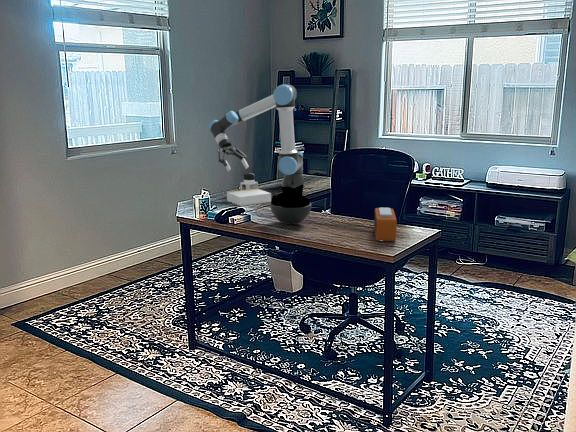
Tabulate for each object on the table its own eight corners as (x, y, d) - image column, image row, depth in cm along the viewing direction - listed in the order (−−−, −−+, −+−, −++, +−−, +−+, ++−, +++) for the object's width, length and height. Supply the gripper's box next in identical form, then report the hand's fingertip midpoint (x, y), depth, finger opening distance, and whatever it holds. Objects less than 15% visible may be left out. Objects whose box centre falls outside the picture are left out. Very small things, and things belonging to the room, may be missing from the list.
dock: (257, 196, 334) (257, 188, 333) (271, 201, 321) (271, 192, 320) (227, 200, 324) (226, 191, 323) (240, 206, 311) (239, 196, 309)
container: (250, 196, 335) (249, 175, 332) (240, 195, 340) (239, 173, 336) (258, 194, 341) (258, 173, 338) (248, 193, 346) (248, 172, 342)
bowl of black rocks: (274, 230, 262) (273, 190, 258) (267, 219, 281) (266, 182, 277) (315, 228, 266) (316, 188, 262) (306, 217, 285) (306, 181, 281)
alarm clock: (374, 228, 267) (375, 204, 264) (392, 228, 266) (393, 205, 263) (376, 242, 244) (377, 216, 241) (395, 243, 243) (397, 217, 240)
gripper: (237, 144, 361) (251, 170, 354) (204, 147, 345) (219, 174, 338) (241, 136, 356) (257, 163, 349) (209, 139, 340) (224, 167, 333)
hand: (238, 168), depth 344 cm, fingers open, 13 cm apart
